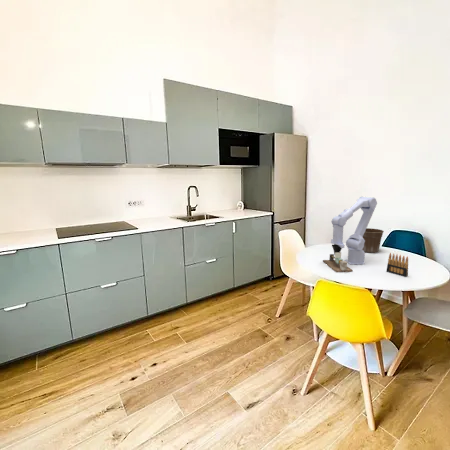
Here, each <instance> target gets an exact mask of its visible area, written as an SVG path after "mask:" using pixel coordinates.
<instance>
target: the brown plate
mask: <svg viewBox="0 0 450 450" xmlns="http://www.w3.org/2000/svg"><path fill="white" fill-rule="evenodd" d="M322 262H323V263H324V264H325V265H326V264H327V265H326V266H327V267H329V268H330V269H331V268H332V269H331V270H332V271H334V272H335V273H353V272H354V271H353V269H351V268H350V267H349V266H348V264H349V263H348V262H346V261H345V260H343V261H342V260H340V261H339V263H340V264H337V263H336V262H335V255H334V253H330V254H329V259H323V260H322Z"/></svg>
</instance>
